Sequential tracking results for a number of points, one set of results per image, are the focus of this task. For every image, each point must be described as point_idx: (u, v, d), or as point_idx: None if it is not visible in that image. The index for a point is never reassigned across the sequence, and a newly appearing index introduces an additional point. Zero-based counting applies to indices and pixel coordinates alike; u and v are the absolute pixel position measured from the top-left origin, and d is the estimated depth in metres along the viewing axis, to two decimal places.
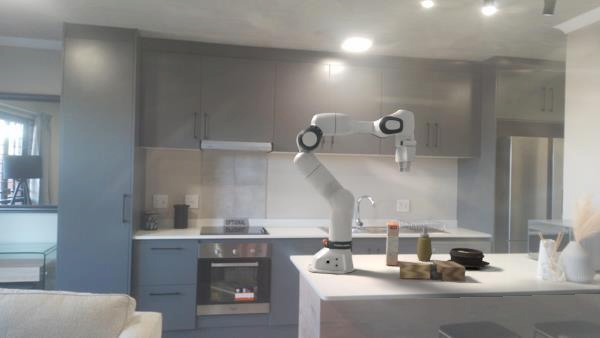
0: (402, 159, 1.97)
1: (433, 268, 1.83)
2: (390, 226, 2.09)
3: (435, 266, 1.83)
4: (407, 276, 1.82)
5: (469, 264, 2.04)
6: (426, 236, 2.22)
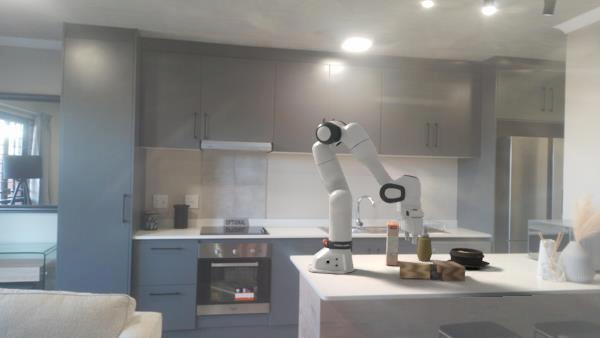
0: (408, 230, 1.81)
1: (433, 268, 1.83)
2: (390, 226, 2.09)
3: (435, 266, 1.83)
4: (407, 276, 1.82)
5: (469, 264, 2.04)
6: (426, 236, 2.22)
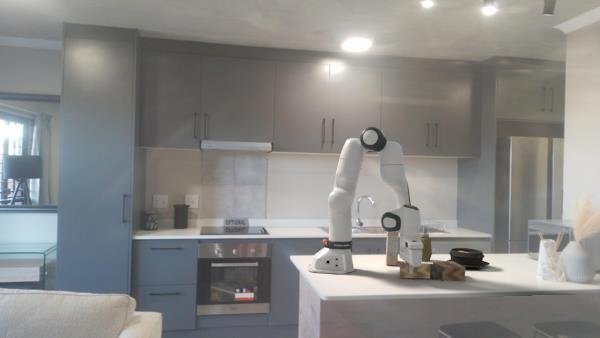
0: (407, 260, 1.81)
1: (433, 268, 1.83)
2: None
3: (435, 266, 1.83)
4: (407, 276, 1.82)
5: (469, 264, 2.04)
6: (426, 236, 2.22)
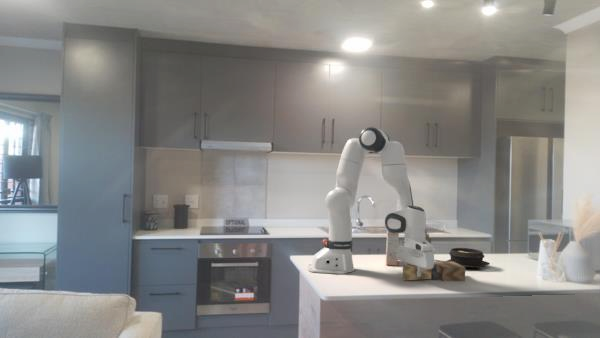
0: (415, 263, 1.77)
1: (434, 268, 1.83)
2: None
3: (436, 266, 1.83)
4: (411, 277, 1.79)
5: (469, 264, 2.04)
6: (426, 236, 2.22)
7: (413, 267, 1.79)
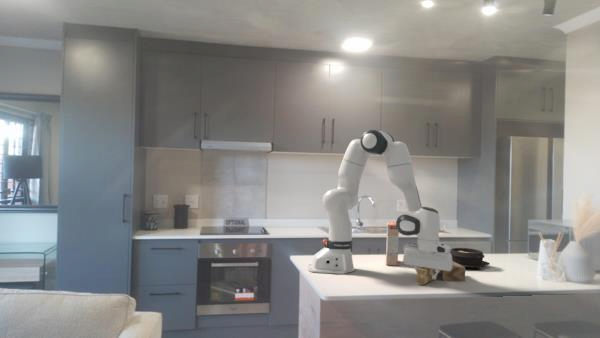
0: (432, 266, 1.72)
1: None
2: (390, 226, 2.09)
3: None
4: (425, 281, 1.74)
5: (469, 264, 2.04)
6: None
7: (426, 270, 1.74)
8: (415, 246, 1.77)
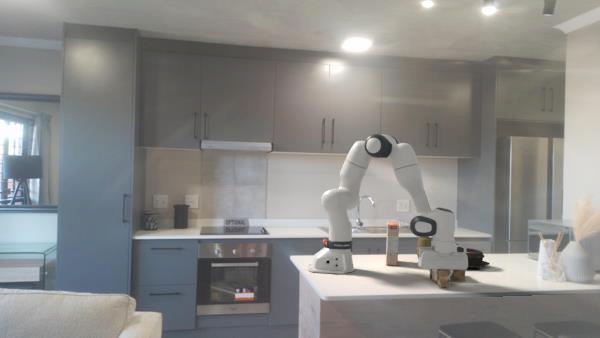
0: (450, 267, 1.71)
1: None
2: (390, 226, 2.09)
3: None
4: None
5: (469, 264, 2.04)
6: None
7: None
8: (431, 248, 1.72)
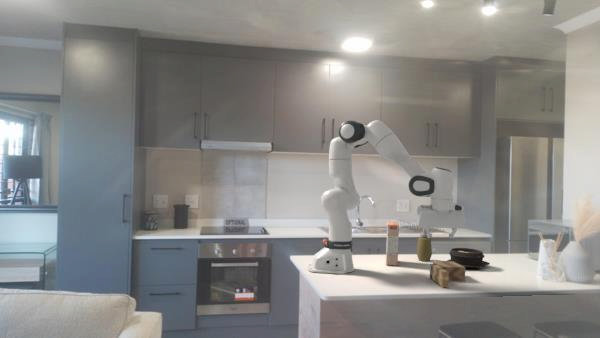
0: (448, 225, 1.73)
1: None
2: (390, 226, 2.09)
3: None
4: None
5: (469, 264, 2.04)
6: (426, 236, 2.22)
7: None
8: (429, 207, 1.74)
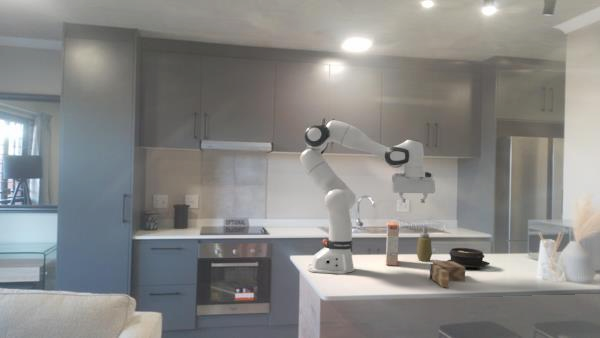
0: (420, 190, 1.94)
1: None
2: (390, 226, 2.09)
3: None
4: None
5: (469, 264, 2.04)
6: (426, 236, 2.22)
7: None
8: (403, 175, 1.95)
